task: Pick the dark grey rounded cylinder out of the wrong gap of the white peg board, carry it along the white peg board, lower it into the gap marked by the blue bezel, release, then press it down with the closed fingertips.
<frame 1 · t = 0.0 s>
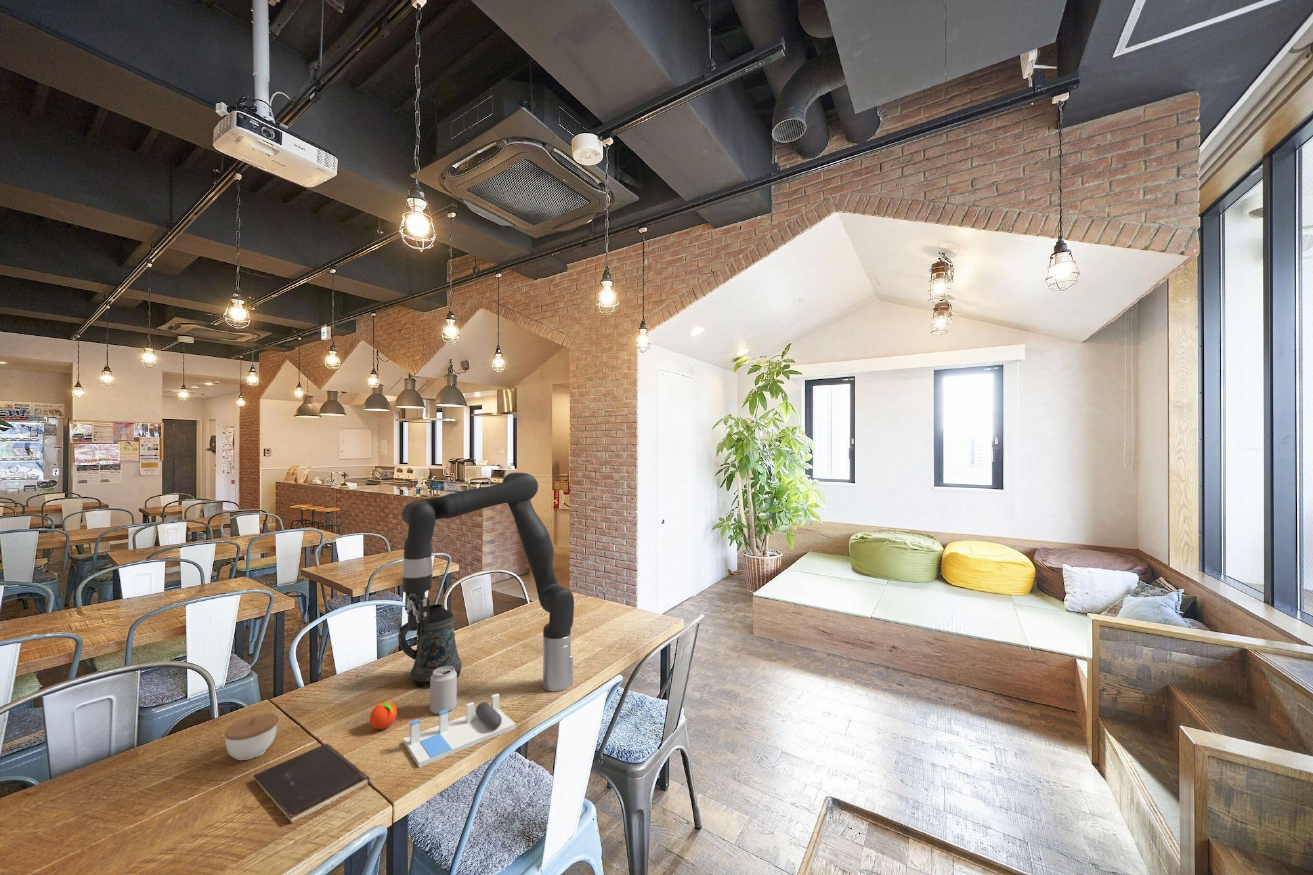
hand: (416, 631, 135), 29 cm above the table, fingers open, 8 cm apart
beer stein: (432, 679, 168), on the table
dark grey rounded cylinder: (488, 722, 139), point 1 cm above the table, touching white peg board
white peg board: (460, 735, 135), on the table
clementine: (384, 728, 139), on the table
hardcover book: (311, 785, 116), on the table
can: (443, 709, 149), on the table
lidded jar: (251, 754, 126), on the table
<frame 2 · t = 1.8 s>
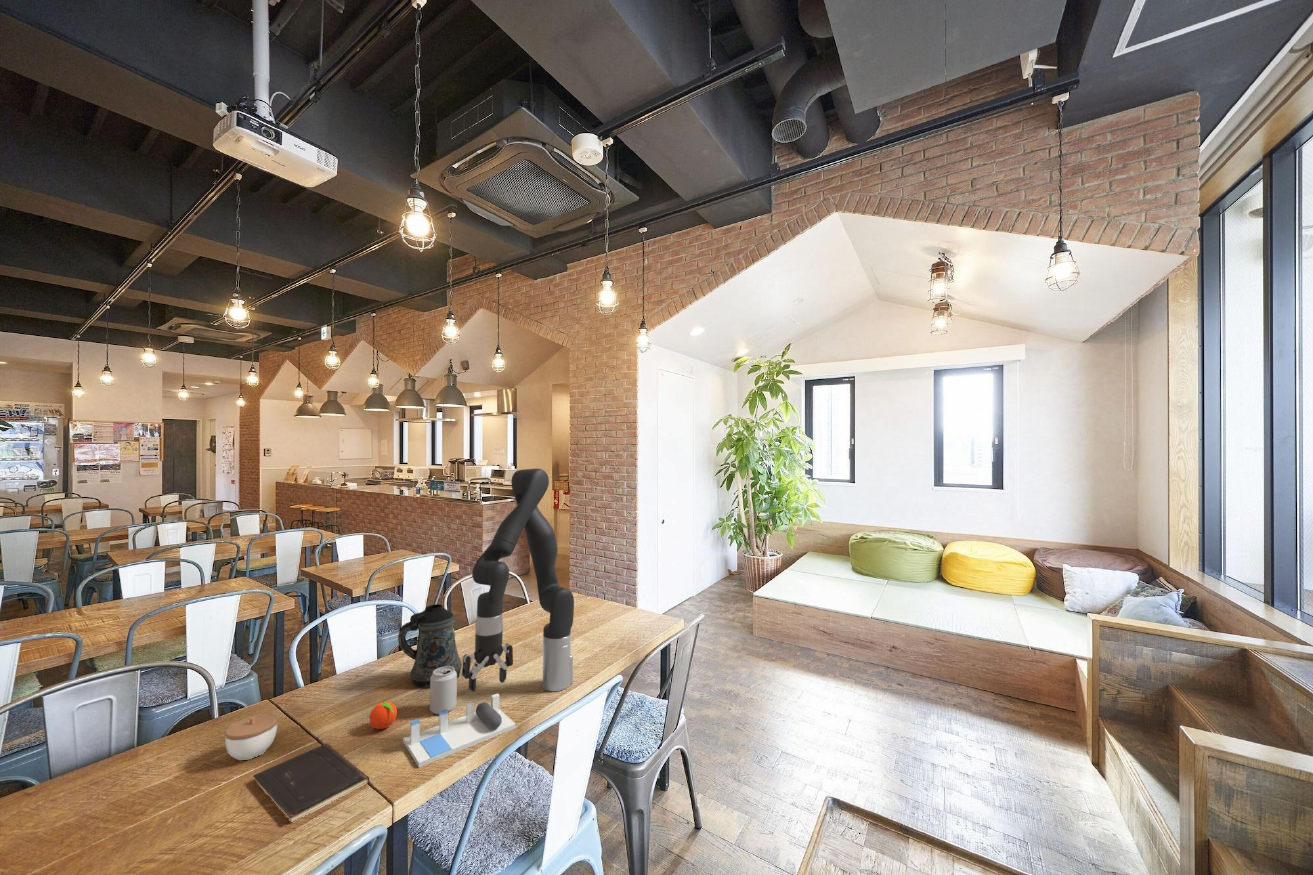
hand: (487, 686, 140), 12 cm above the table, fingers open, 8 cm apart
nothing on the table moved.
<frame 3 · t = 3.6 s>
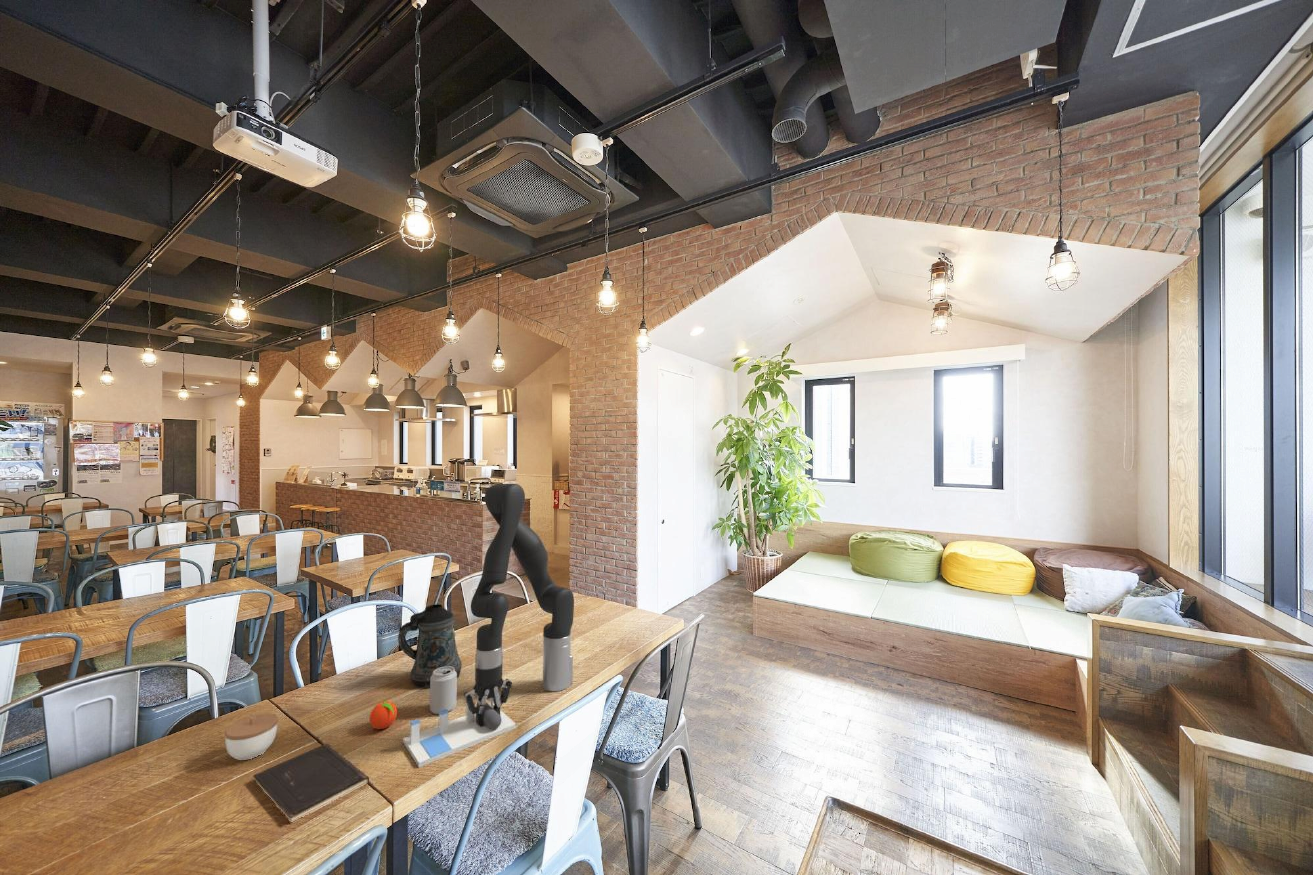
hand: (488, 722, 139), 1 cm above the table, fingers closed on dark grey rounded cylinder, 4 cm apart
dark grey rounded cylinder: (488, 722, 139), point 1 cm above the table, touching white peg board, gripper
everything else where it was.
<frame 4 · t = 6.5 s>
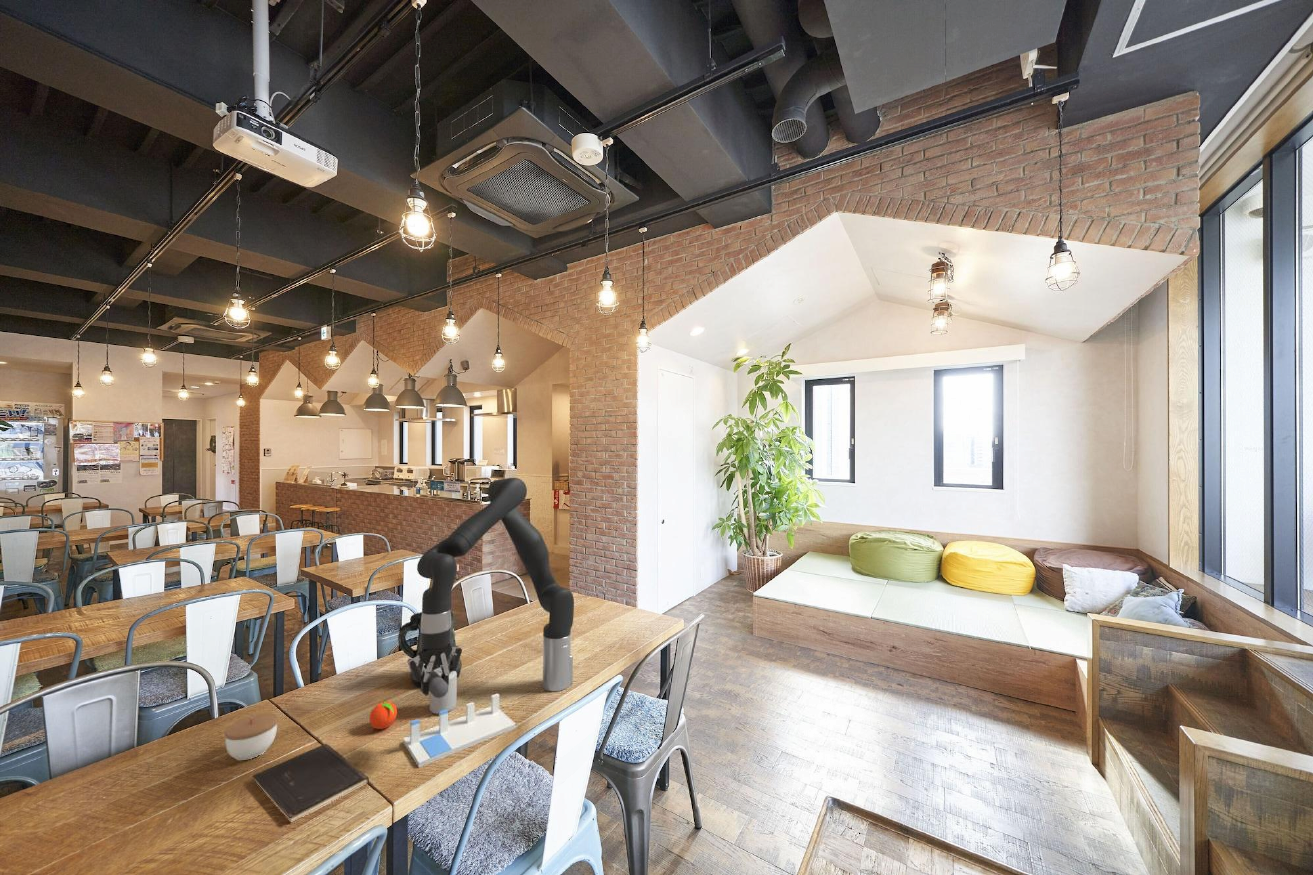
hand: (434, 691, 130), 15 cm above the table, fingers closed on dark grey rounded cylinder, 4 cm apart
dark grey rounded cylinder: (435, 691, 130), point 15 cm above the table, touching gripper
everything else where it was.
when the fingers open (3 cm above the table, at t = 9.5 s): dark grey rounded cylinder drops 1 cm, resting on white peg board.
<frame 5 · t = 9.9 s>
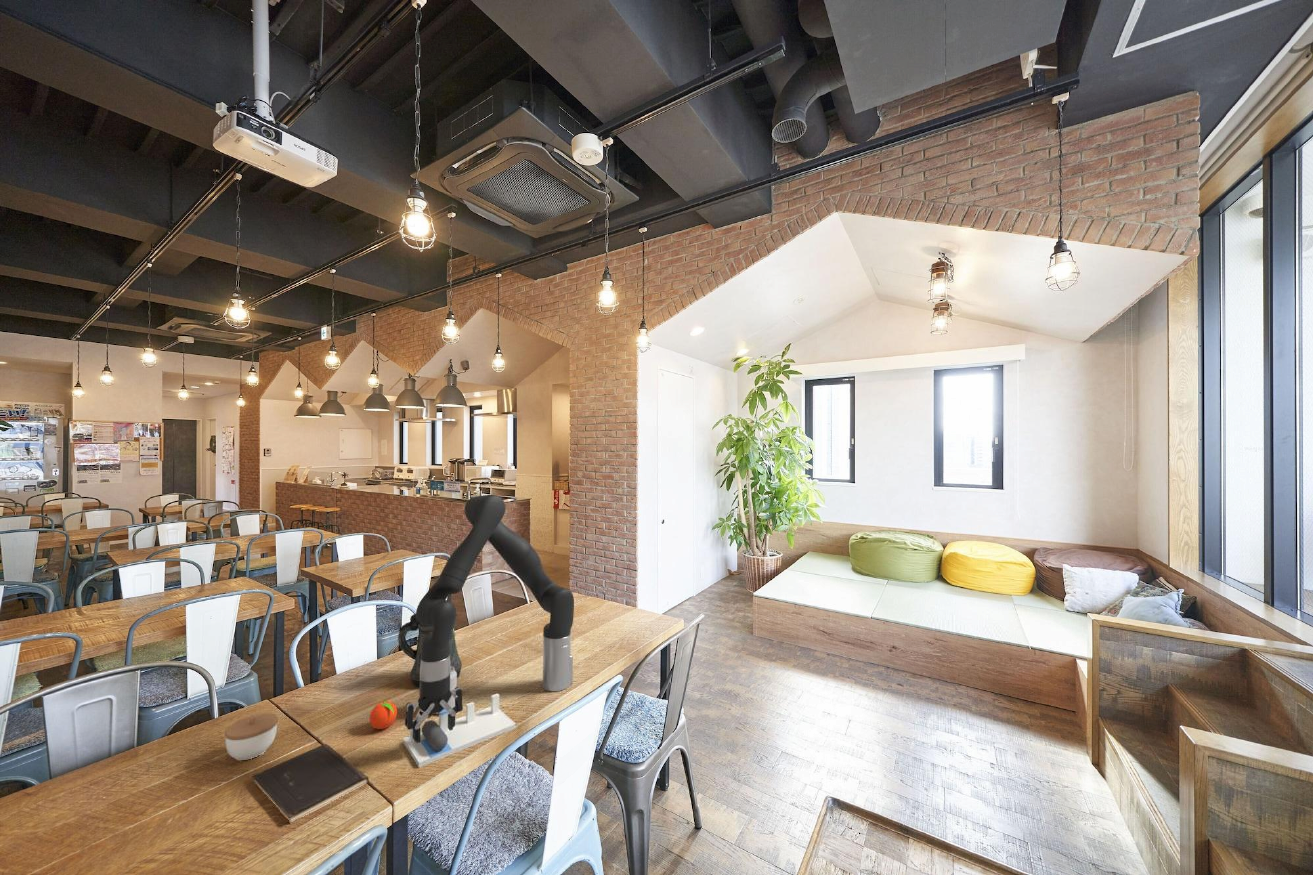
hand: (434, 735, 129), 3 cm above the table, fingers open, 8 cm apart
dark grey rounded cylinder: (434, 742, 129), point 1 cm above the table, touching white peg board
everything else where it was.
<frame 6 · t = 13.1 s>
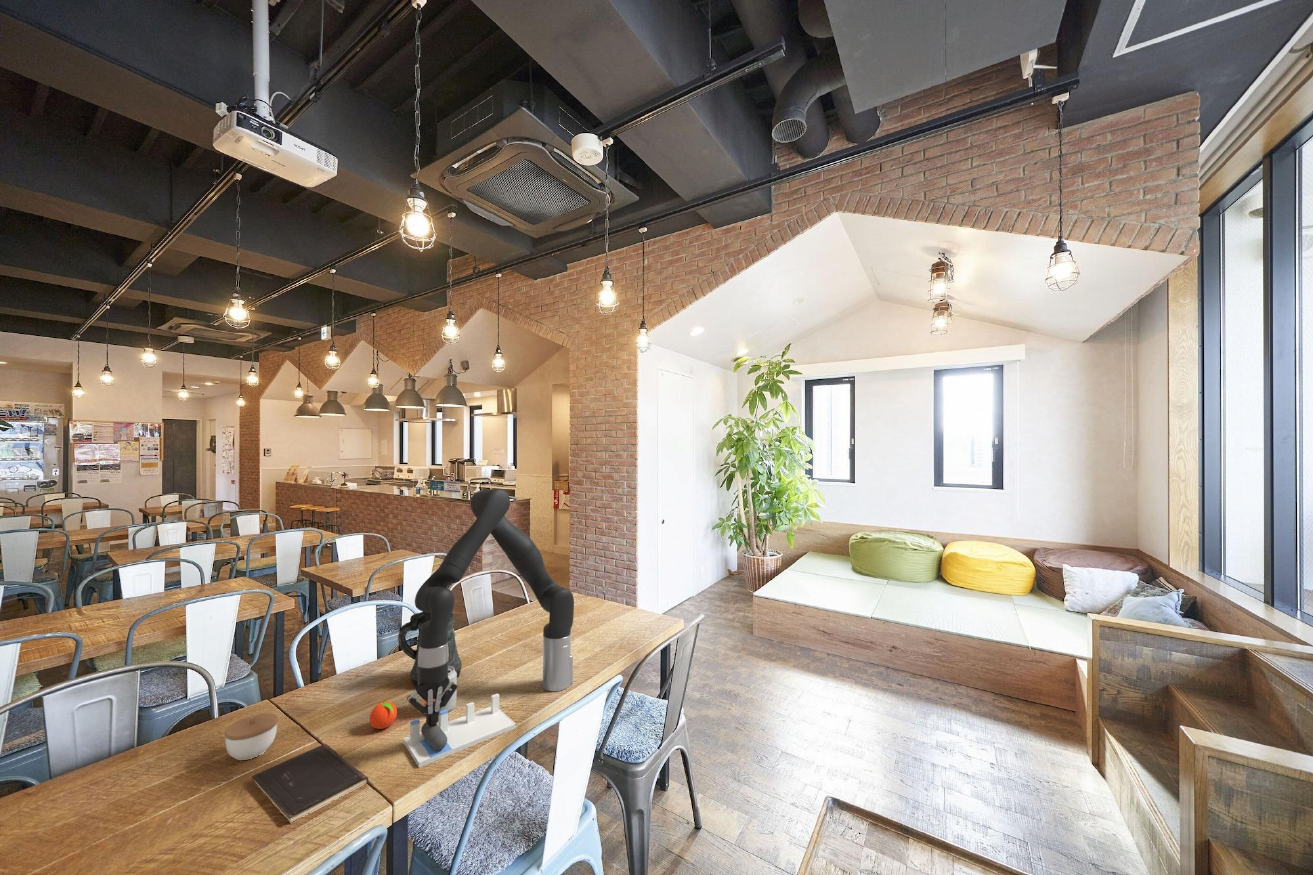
hand: (432, 725, 130), 5 cm above the table, fingers closed
dark grey rounded cylinder: (434, 742, 129), point 1 cm above the table, touching white peg board, gripper
everything else where it was.
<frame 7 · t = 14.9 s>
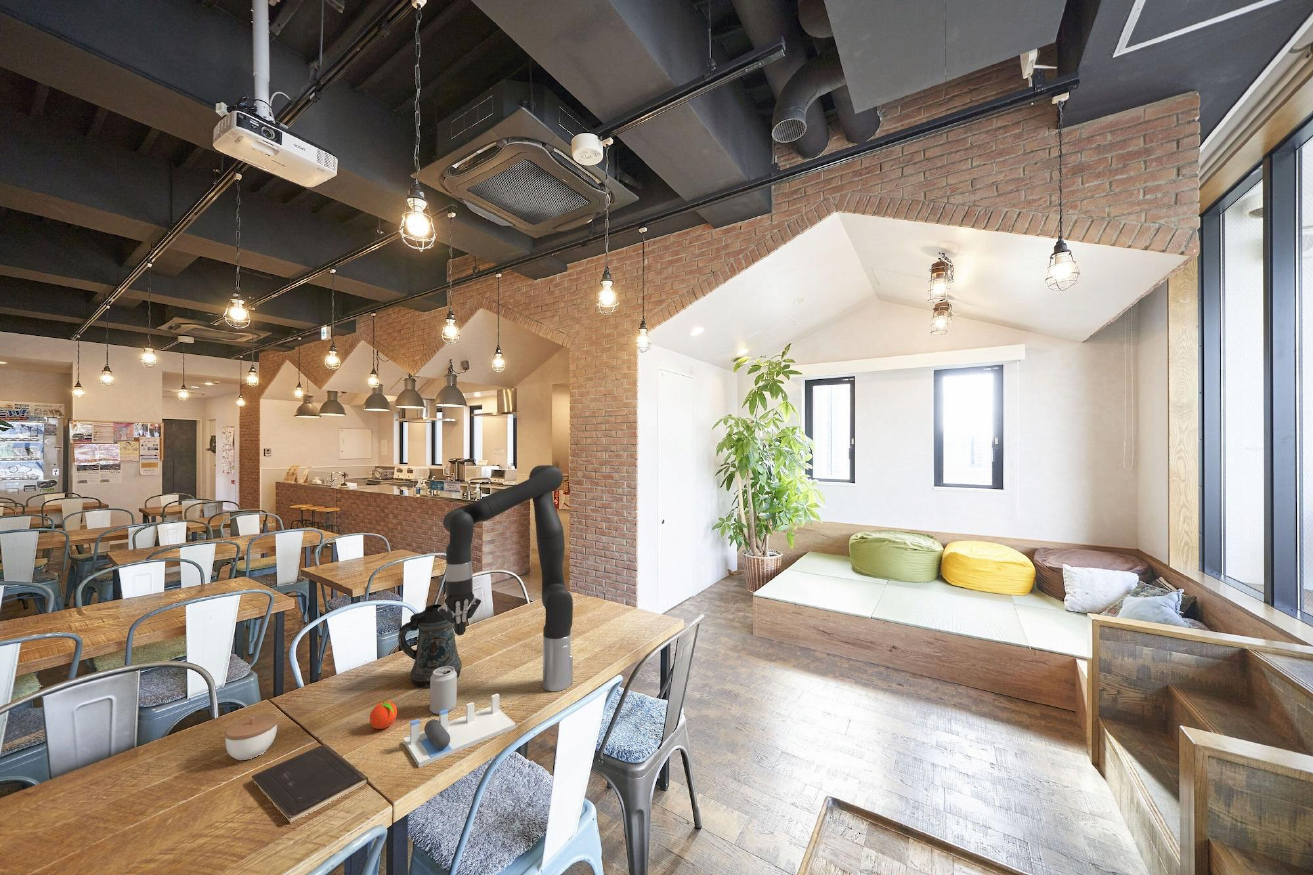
hand: (460, 634, 145), 24 cm above the table, fingers closed
dark grey rounded cylinder: (434, 741, 129), point 1 cm above the table, tilted 17°, touching white peg board
everything else where it was.
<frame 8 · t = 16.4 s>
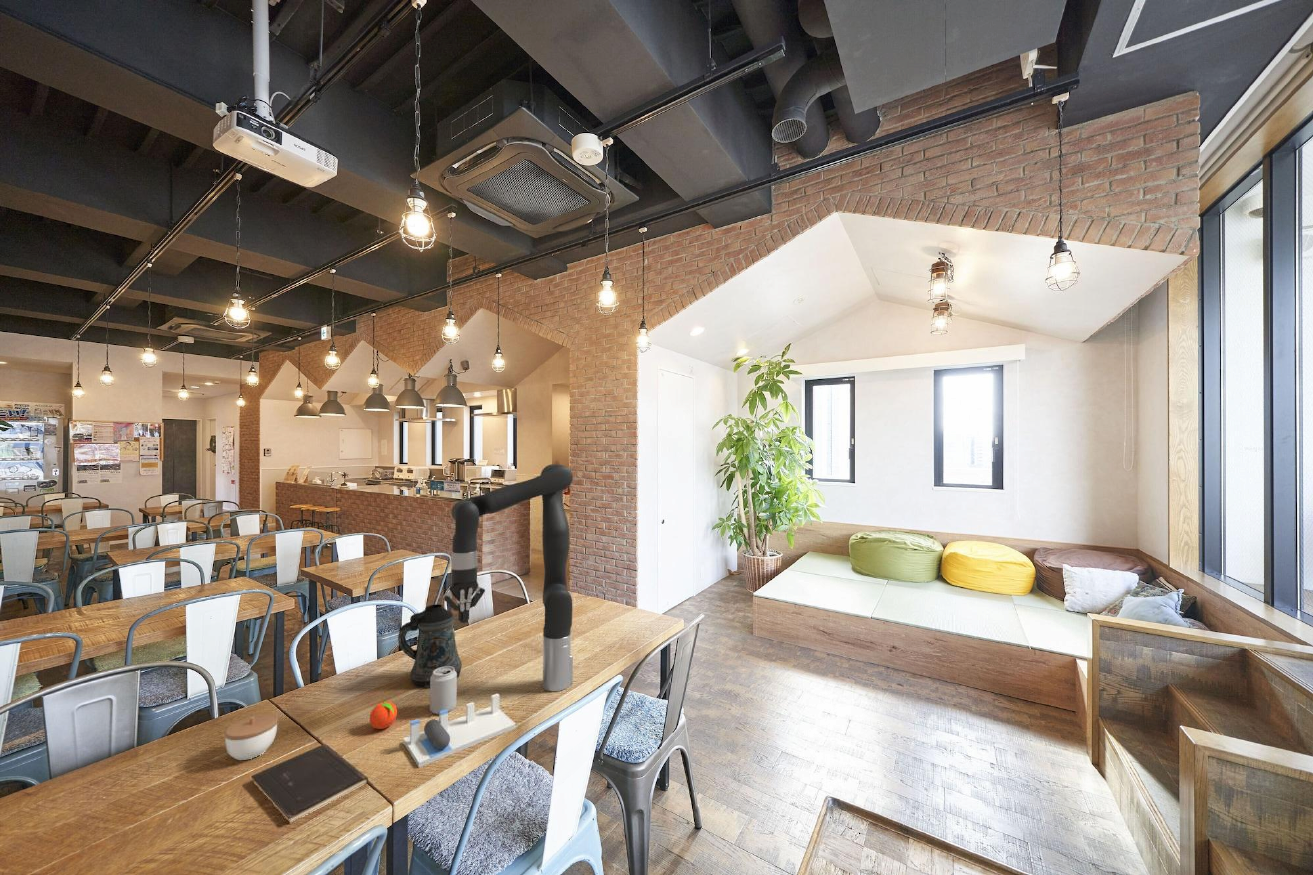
hand: (463, 622, 148), 27 cm above the table, fingers closed
nothing on the table moved.
at the end: dark grey rounded cylinder 0.1 cm from the target spot on the white peg board, point 1.5 cm above the white peg board's base; dark grey rounded cylinder moved 14.9 cm from its start; the gripper is holding nothing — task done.
